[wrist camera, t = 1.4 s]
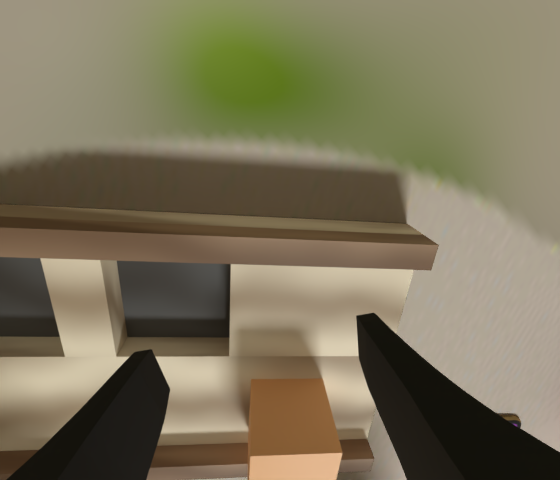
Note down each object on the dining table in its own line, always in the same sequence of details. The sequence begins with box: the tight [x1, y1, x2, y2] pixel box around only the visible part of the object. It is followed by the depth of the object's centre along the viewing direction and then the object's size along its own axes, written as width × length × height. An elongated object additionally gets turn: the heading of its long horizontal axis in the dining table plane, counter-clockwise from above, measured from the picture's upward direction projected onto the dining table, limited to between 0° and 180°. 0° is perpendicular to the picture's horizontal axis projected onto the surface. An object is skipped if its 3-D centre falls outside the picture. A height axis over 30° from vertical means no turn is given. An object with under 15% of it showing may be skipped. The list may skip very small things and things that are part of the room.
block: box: [248, 378, 343, 480], centre depth 19 cm, size 5×5×5 cm
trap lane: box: [0, 204, 439, 480], centre depth 19 cm, size 19×34×4 cm, turn 85°
